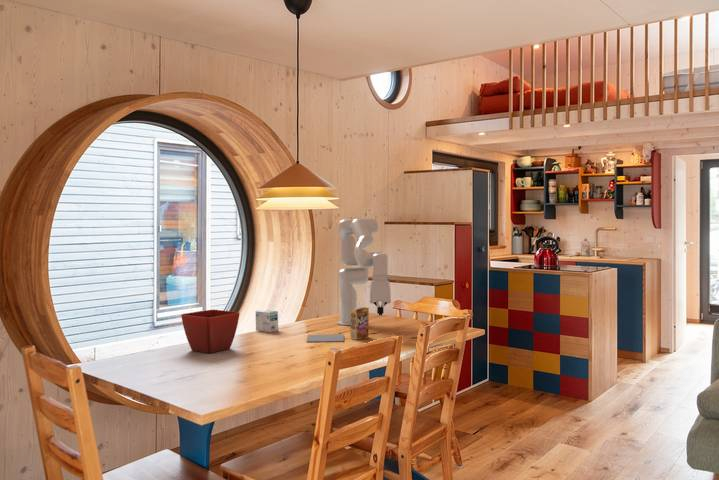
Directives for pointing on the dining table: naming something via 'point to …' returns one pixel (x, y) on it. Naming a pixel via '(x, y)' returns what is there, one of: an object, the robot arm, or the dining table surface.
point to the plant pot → (210, 329)
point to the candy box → (359, 323)
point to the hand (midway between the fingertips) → (380, 314)
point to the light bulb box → (266, 320)
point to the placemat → (326, 338)
